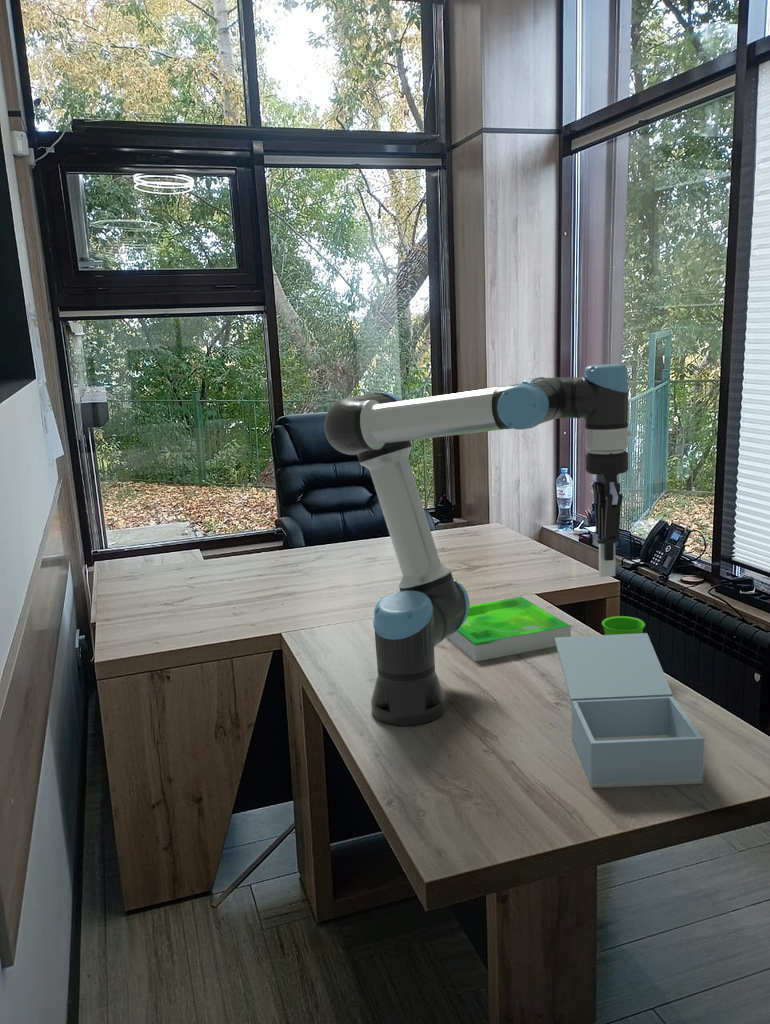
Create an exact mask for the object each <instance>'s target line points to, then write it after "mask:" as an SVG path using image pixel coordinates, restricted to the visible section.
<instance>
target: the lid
mask: <svg viewBox="0 0 770 1024" xmlns="http://www.w3.org/2000/svg"><path fill="white" fill-rule="evenodd" d="M651 641H652V640H651V639H650V636H649V635H648V633H647V632H643V633H638V634H617V635H605V634H601V635H581V636H580V635H578V636H571V637H556V638H555V644H556V646H555V648H556V650H557V655H558V659H559V662H560V666H561V669H562V673H563V677H564V681H565V684H566V688H567V693H568V696H569V700H570V702H571V703H572V700H589V699H611V698H633V697H655V696H673V692H672V689H671V687H670V684H669V681H668V680H667V677H666V674H665V673H664V670H663V668H662V665H661V663H660V660H659V658H658V656H657V654H656V651H655V648H654V646H653V644H652V642H651Z"/></svg>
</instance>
